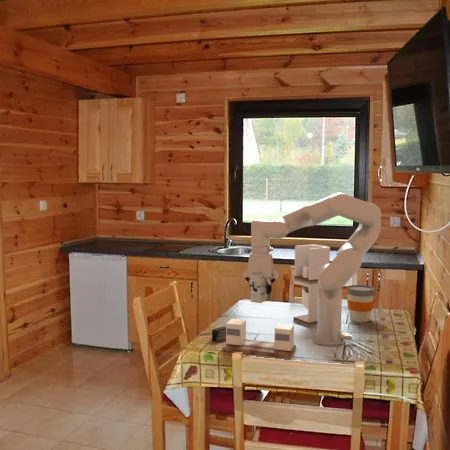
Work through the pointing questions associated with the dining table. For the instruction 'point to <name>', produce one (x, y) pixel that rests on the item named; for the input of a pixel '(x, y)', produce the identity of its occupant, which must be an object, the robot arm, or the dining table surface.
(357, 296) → the reusable coffee cup
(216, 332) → the mobile phone
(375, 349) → the dining table surface
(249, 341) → the rail board
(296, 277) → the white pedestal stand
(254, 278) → the ink box
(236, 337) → the mounted modules
